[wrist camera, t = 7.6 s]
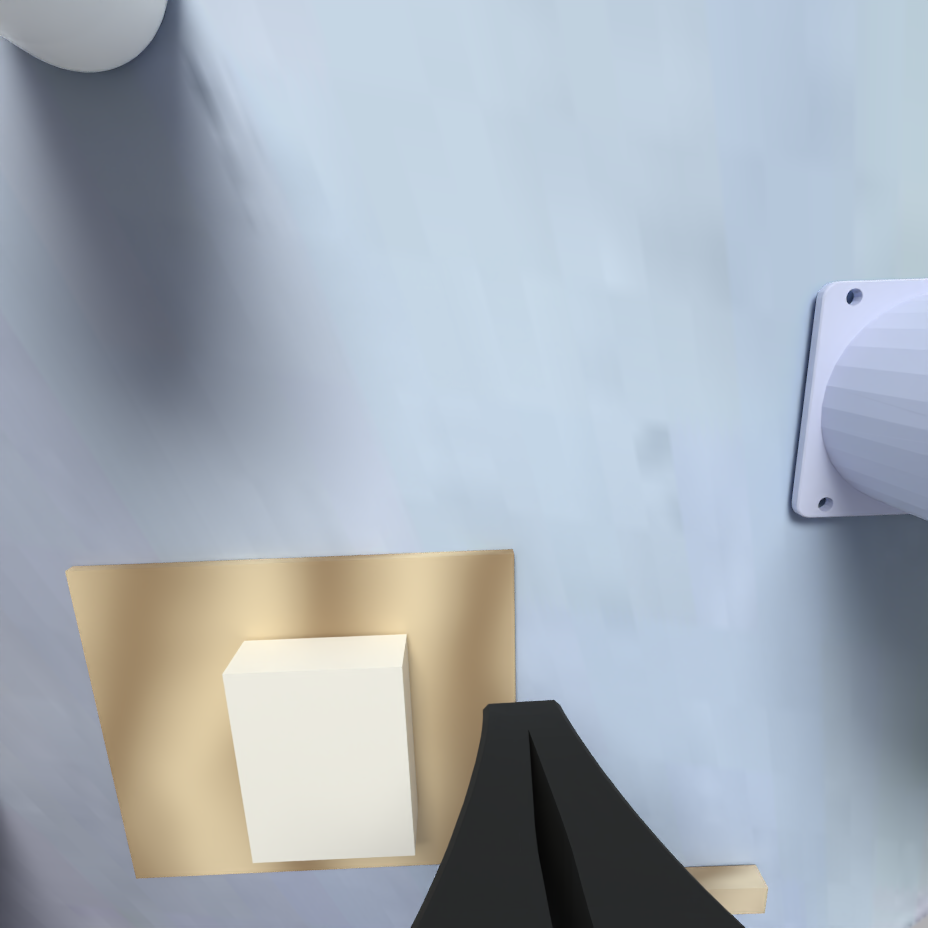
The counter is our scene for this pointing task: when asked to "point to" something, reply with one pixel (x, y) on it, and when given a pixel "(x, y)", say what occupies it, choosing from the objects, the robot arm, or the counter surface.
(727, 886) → the beech spatula
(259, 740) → the white block
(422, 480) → the counter surface
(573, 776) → the robot arm
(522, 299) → the counter surface
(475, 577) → the bamboo mat
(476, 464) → the counter surface
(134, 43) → the drinking glass
